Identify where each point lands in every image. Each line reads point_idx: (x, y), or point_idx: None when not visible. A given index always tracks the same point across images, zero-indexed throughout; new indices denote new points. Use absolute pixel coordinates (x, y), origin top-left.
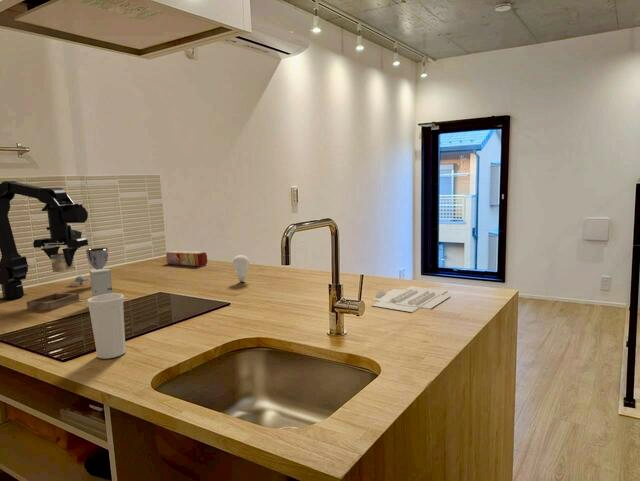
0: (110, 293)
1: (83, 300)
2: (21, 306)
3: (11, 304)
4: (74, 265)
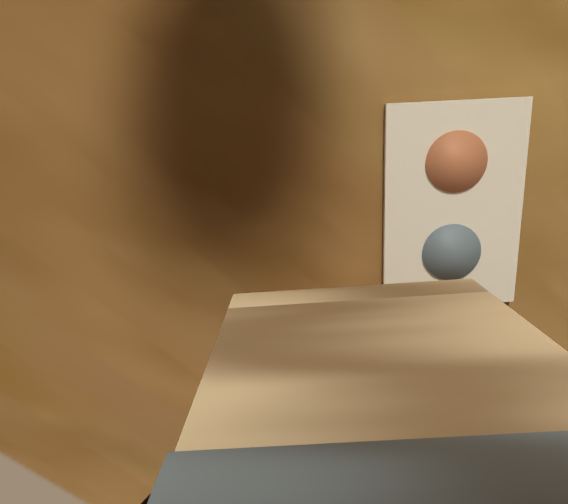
0: None
1: (512, 294)
2: (157, 463)
3: (35, 442)
4: (503, 309)
